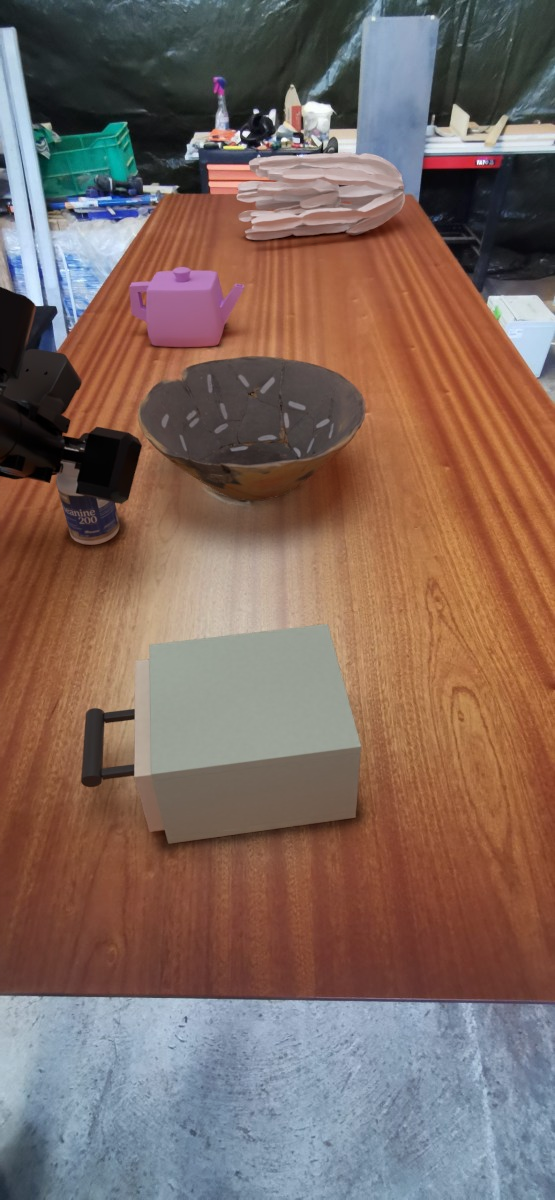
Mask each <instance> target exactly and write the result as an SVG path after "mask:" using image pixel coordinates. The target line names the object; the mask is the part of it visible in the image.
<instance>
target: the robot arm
mask: <svg viewBox="0 0 555 1200" xmlns="http://www.w3.org/2000/svg"><path fill="white" fill-rule="evenodd" d="M36 311H37V305H36V304H35V302H33V300H31V299H30V298H29V297H27V296H26V295H24V294H21V293H16V292H14V291H11V290H10V289H7V288H5V287H2V286H0V477H1V478H6V479H11V480H24V479H30V480H33V481H38V482H42V483H47V484H51V481H52V476H57V474H61V473H62V471H63V467H64V466H63V463H61V461H63V462H68V463H72V464H75V467H74V469H76V470H78V471H79V474H78V478H77V484H78V485H77V489H76V493H77V494H81V495H85V496H90V497H93V498H97V499H101V500H106V501H110V502H114V503H115V504H120V505H123V504H124V503H126V502H127V501H128V500H129V497H130V496H131V495H130V494H131V490H132V487H133V483H134V479H135V475H136V471H137V467H138V463H139V459H140V455H141V452H142V448H143V444H142V443H141V441H140V439H139V438H138V437H136V436H135V435H133V434H131V433H130V432H127V431H122V430H117V429H111V428H108V427H107V428H106V427H101V426H95V427H94V428H93V429H92V430H91V431H89V432H84V433H82V434H81V435H80V436H79V437H71V436H67V435H63V434H68V433H69V432H68V431H69V430H70V429H69V428H70V426H71V420H72V419H70V418H68V417H66V416H64V415H63V414H64V413H66V412H67V410H68V409H69V406H70V404H71V402H72V400H73V399H74V396H75V394H76V393H77V391H79V390H80V388H81V386H82V384H83V382H82V379H81V377H80V376H79V374H78V372H77V371H76V369H75V368H74V366H73V364H72V363H71V361H70V360H69V358H68V357H67V355H66V354H65V353H62V352H56V351H51V350H50V351H49V350H43V349H38V348H30V349H27V345H28V342H29V338H30V335H31V330H32V326H33V323H34V319H35V314H36ZM65 447H66V448H70V449H72V448H73V449H74V450H79V451H74V450H69V449H65ZM80 448H82V449H84V450H82V449H80Z"/></svg>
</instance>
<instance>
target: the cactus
mask: <svg viewBox="0 0 555 1200" xmlns="http://www.w3.org/2000/svg"><path fill="white" fill-rule="evenodd" d="M248 165H249V170H250V171H251V172H252V173H253V174H256V176H257V177H259V178H266V179H268V180H269V181H263V180H249V181H245V182H243V181H242V182H240V183H238V184H237V189H236V190H238V191H237V194H236V196H235V197H236V200H237V201H240V202H244V203H254V202H255V203H254V205H255V208H256V210H255V209H253V210H252V209H251V210H246V211H242V212H241V213H239V214H238V216H237V218H238V220H239V221H241V222H243V223H249V222H250V223H251V224H252V226H251V228H248V229H246V230H244V236H243V237H245V238H246V239H248V240H254V241H268V240H272V239H279V238H285V237H289V236H291V235H293V236H296V237H299V236H300V237H301V236H315V235H320V234H335V233H337V234H338V233H341V232H345V233H346V234H347V235H350V236H357V235H360V234H363V233H365V232H366V233H367V232H368V231H370V230H373V229H376V228H378V227H380V226H382V225H383V224H384V223H386V222H387V221H389V220H390V219H392V218H393V217H395V216H396V215H397V214H398V213H399V212H400V211H402V209H403V207H404V204H405V202H406V194H405V183H404V182H403V175H402V173H401V172H400V171H399V170H398V168H397V167H396V165H394V164H393V163H392V162H391V161H389V160H387V159H386V158H384V157H382V156H380V155H377V154H373V153H367V152H364V153H361V154H356V153H352V152H345V151H341V152H333V153H325V152H324V153H310V154H304V155H303V156H300V155H290V154H289V155H272V156H263V157H255V158H253V159H250V160H249V162H248ZM274 181H275V182H274ZM348 202H349V203H348Z"/></svg>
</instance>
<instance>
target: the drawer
mask: <svg viewBox="0 0 555 1200" xmlns="http://www.w3.org/2000/svg"><path fill="white" fill-rule="evenodd" d="M128 721H134V741H133V743H134V744H133V745H134V750H133V751H134V753H133V755H134V756H133V758H134V759H133V761H134V762H133V763H132V764H126V765H125V764H124V765H118V766H110V767H104V766H103V765H104V744H105V724H111V723H119V722H128ZM127 777H134V780H135V785H136V788H137V792H138V795H139V800H140V803H141V806H142V810H143V814H144V818H145V822H146V826H147V828H148V832H149V833H150V832H160V831H165V829H164V825H163V821H162V817H161V813H160V809H159V805H158V801H157V797H156V793H155V788H154V784H153V780H152V776H151V740H150V661H149V658H146V659H138V660H134V708H131V709H123V710H115V711H114V710H113V711H107V712H105V710H103V709H102V708H98V707H94V708H90V709H88V710H86V712H85V719H84V733H83V749H82V763H81V777H80V782H81V784H82V785H83V786H84V787H87V788H95V787H98V786H101V784H102V782H103V780H104V781H105V780H111V779H112V780H113V779H120V778H127Z"/></svg>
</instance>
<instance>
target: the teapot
mask: <svg viewBox="0 0 555 1200" xmlns="http://www.w3.org/2000/svg"><path fill="white" fill-rule="evenodd" d="M219 277H220V276H219V274H218V272H217V271H215V270H191V268H189V267H186V266H179V267H175V268H173V269H172V270H162V271H156V272H155V274H154V276H153V277H152V278H151V280H149V281H132V282H131V283H130V285H129V288H128V289H129V300H130V312H131V314H130V315H132V316H133V317H135V318H137V319H139V320H141V321H143V322H145V323H146V328H147V329H146V330H147V336H148V339H149V342H150V343H151V345H152V346H154V347H167V348H169V347H170V348H202V347H203V348H204V347H215V346H218V345H219V344H220V342H221V339H222V337H223V332H224V328H225V324H226V323H227V321H228V319H229V317H230V316H231V314H232V311H233V310H234V308H235V306H236V305H237V303H238V300H239V298H240V297H241V295H242V293H243V291H244V289H245V284H242V283H241V284H240V283H234V285H233V287H232V288H231V290H230V291H229V293H228V294H227V295H226V296H225V298H224V293H223V289H222V285H221V281H220V278H219ZM142 293H146V298H145V299H146V302H145V304H144V302H143V295H142Z"/></svg>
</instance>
